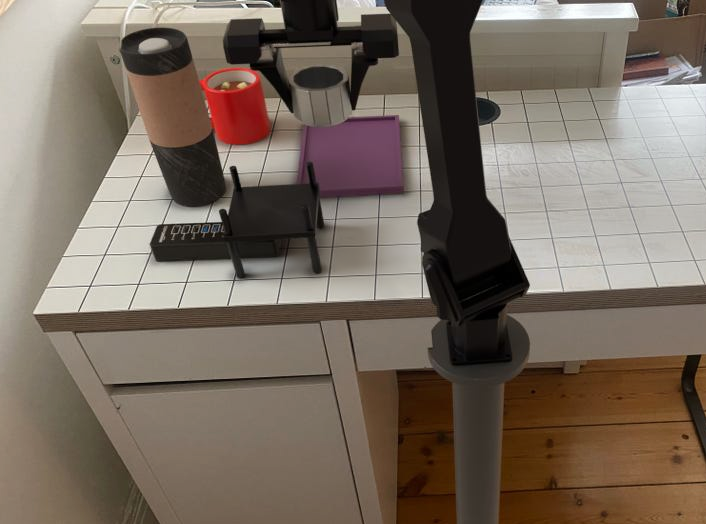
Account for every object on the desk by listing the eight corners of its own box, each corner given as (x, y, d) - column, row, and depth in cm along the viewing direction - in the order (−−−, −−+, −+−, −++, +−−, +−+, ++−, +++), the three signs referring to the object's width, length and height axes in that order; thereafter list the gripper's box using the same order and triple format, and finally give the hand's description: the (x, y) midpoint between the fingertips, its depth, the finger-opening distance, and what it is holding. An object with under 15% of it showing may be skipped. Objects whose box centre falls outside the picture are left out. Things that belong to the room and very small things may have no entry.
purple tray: (403, 193, 100) (403, 186, 99) (296, 199, 98) (295, 191, 98) (399, 121, 113) (398, 114, 112) (305, 125, 112) (304, 119, 111)
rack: (322, 274, 88) (310, 208, 81) (235, 279, 87) (216, 214, 80) (325, 224, 95) (314, 160, 88) (245, 228, 94) (228, 164, 87)
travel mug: (240, 186, 100) (201, 36, 86) (197, 214, 96) (148, 60, 82) (200, 170, 103) (155, 21, 89) (156, 196, 99) (102, 44, 84)
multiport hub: (277, 256, 90) (274, 241, 88) (154, 261, 89) (148, 245, 87) (282, 234, 93) (278, 219, 91) (162, 239, 92) (157, 223, 90)
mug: (196, 117, 114) (181, 66, 108) (275, 118, 114) (265, 67, 108) (181, 144, 108) (165, 92, 102) (265, 144, 108) (253, 92, 102)
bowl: (352, 127, 88) (348, 89, 84) (293, 130, 87) (286, 92, 84) (352, 99, 92) (348, 63, 89) (296, 102, 92) (290, 65, 88)
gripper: (389, -58, 85) (399, 76, 96) (220, -53, 83) (250, 83, 94) (393, -22, 77) (403, 119, 88) (207, -16, 75) (241, 127, 86)
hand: (323, 110), depth 89 cm, fingers closed on bowl, 7 cm apart
